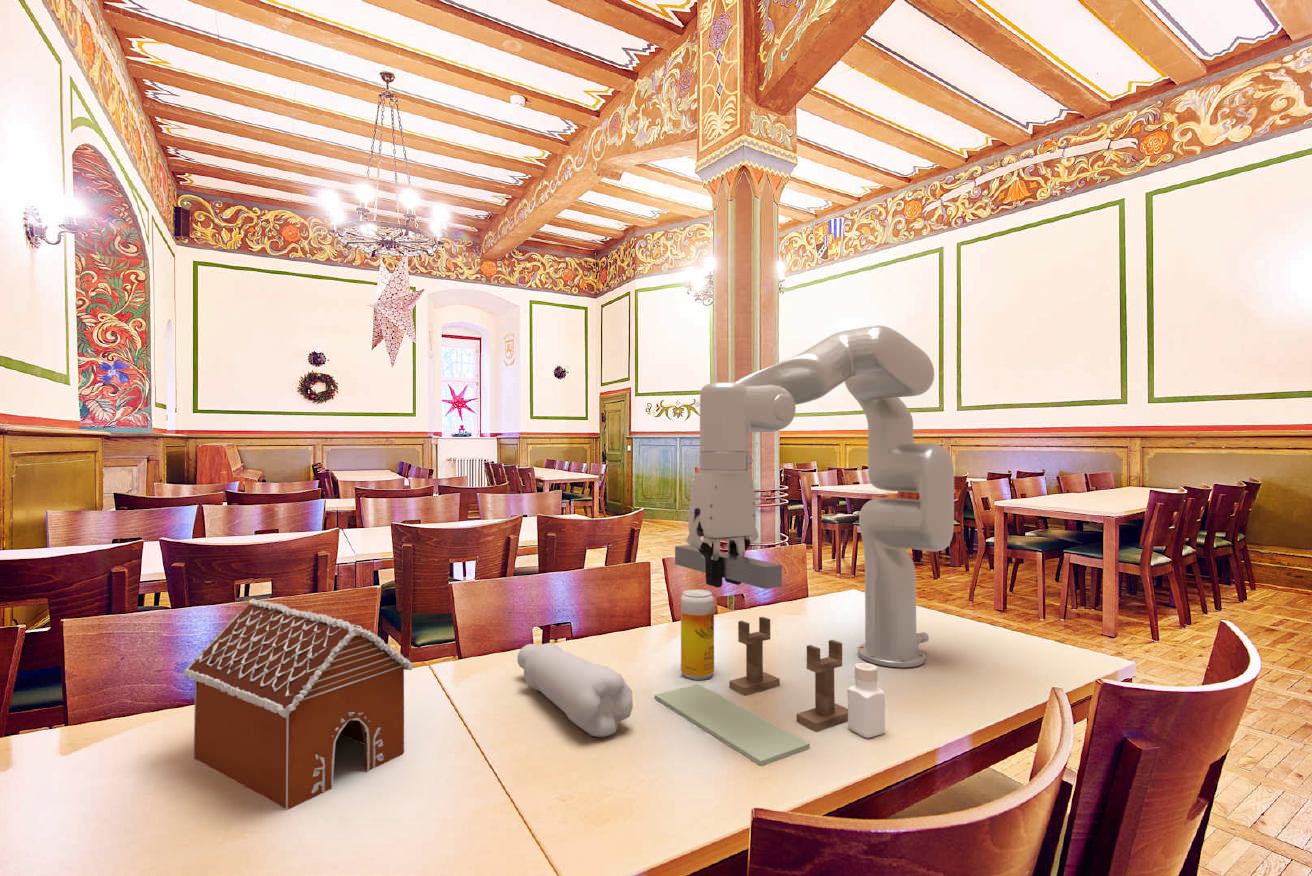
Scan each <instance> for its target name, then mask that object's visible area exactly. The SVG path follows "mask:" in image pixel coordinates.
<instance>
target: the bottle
mask: <svg viewBox="0 0 1312 876" xmlns="http://www.w3.org/2000/svg"><path fill="white" fill-rule="evenodd" d="M517 664H518V666H519V668H521V669H523V676H524V680H525V682H526V684H527V685H529V686H528V687H531V689H533V690H537V691H540V693H541V694H543V695H544V696H545V697H546V698H547V699H549V700H550V702H552V703H553V704H554V705H556V706H557V707H558V708H559V709H560V710H561V711H562V712H563V713H565V714H566V716H567V718H568V719H569V720H570V721H571V722H572V723H573V724H575V725H576V726H577V727H578V728H581V730H583V731H585V732H586V733H587V734H588V735H589V736H591V737H597V738H605V737H609V736H611V735H614V733H616V732H617V729H618V725H619V723H621V722H622V721H624V720H626V719H628V718H630V716H631V714H632V711H633V706H634V702H633V701H634V700H633V691H632V689H631V687H630V686H629V685H628V684H627V683H626V681H625V679H624V678H623V676H622V674H620V673H618V672H616V671H615V670H614V669H611V668H609V667H607V666H605V665H601V664H599V663H598V664H597V663H594V662H592V661H588V660H586V659H584V658H581V657H579V656H577V655H575V654H572V653H570V652H566V651H564V650H563V649H562V648H561V647H560V646H559V645H557V644H555V643H551V642H547V643H541V644H540V645H538V646H537V644H533V643H529V644H526V645H524V646H523V647H521V649H520V650H519V652H518V655H517Z"/></svg>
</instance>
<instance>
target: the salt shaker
mask: <svg viewBox="0 0 1312 876" xmlns="http://www.w3.org/2000/svg"><path fill="white" fill-rule="evenodd" d="M854 679H855V680H854V684H852V685H851V686H850V687H848V688H847V709H848V721H847V727H848V729H849V730H850V731H852V732H854V733H856V734H858V735H859V736H861V737H863V738H867V739H868V738H870V739H871V738H872V737H877V736H879V735H883V734H884V733H885V731H886V701H885V700H886V697H885V696H886V694H885V692H884V691H883V690H882V689H881V688H880V687H878V667H877V666H876V664H873V663H870V662H858V663H856V664H854Z"/></svg>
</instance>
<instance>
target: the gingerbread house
mask: <svg viewBox="0 0 1312 876" xmlns="http://www.w3.org/2000/svg"><path fill="white" fill-rule="evenodd" d="M248 603H249V604H248V605H247V606H245V607H244V609H243V610H242V611H239V612H237V613H236V615H235V617H233V618H231V619H230V620H229V621H228V623H227V625H226V626H225V627H222V631H221V632H218V633H216V634H215V637H214V639H213V641H211V642H210V643H208V644H207V646H206V648H204V649H202V650H201V652H200V653H199V655H198V656H197V657H195V658H194V659H193V660H192V662H191V664H190V665H188V666H186V667H185V669H184V670H183V671H182V674H183V675H184V676H186V678H187V677H188V678H189V679H192V680H194V722H193V723H194V724H193V726H194V727H193V728H194V732H193V736H194V737H193V740H194V741H193V742H194V743H193V760H196V761H199V762H200V763H202V764H204V765H205V766H208V767H209V768H211V769H213V770H215V771H217V772H218V773H220V774H222V775H224V776H225V777H227V778H229V779H231V780H233V781H235V782H237V783H238V784H241V785H242V786H244V787H245V788H247V789H249V790H251V789H252V790H251V791H253V792H255V793H257V794H259V795H260V794H261V795H260V796H262V797H264V798H266V799H267V798H268V800H269V801H271V802H273V803H275V804H277V805H279V806H280V807H282V808H284V809H285V810H286V811H288V810H291V809H293V808H295V807H297V806H298V805H299V806H300V805H301V804H303V803H305V802H307V801H310V800H312V799H313V798H315V797H317V796H319V795H322V794H324V793H326V792H328V791H330V790H333V786H334V785H333V784H334V783H333V782H334V771H335V769H334V768H335V755H336V754H335V753H336V743H337V740H338V738H339V736H342V737H345V738H348V739H350V740H352V741H355V742H358V743H360V744H363V746H364V747H363V752H364V753H363V770H366V772H370V771H371V770H374V769H376V768H377V767H380V766H381V765H384V764H386V763H387V762H390V761H393V760H394V759H396V758H398V757H400V756H402V755H404V754H405V670H408V671H412V670H413V668H414V666H415V665H414V662H413V661H412V662H411V661H410V660H409V659H408V658H407V657H406V658H405V657H404V655H403V654H402V653H399V652H398V651H397V650H396V648H394V647H393V646H391V645H390V644H389V643H385V641H384V639H383V638H381V636H380V637H379V636H378V634H375V633H374V632H371V630H370V629H369V630H367V629H366V628H363V627H362V626H361V625H358V624H354V623H350V622H349V621H348V620H347V621H345V620H343V618H340V619H339V618H337V619H336V617H334V618H333V617H332V616H330V615H329V616H328V615H327V614H323V613H316V612H313V611H306V610H304V611H303V610H298V609H296V608H295V607H294V608H291V607H288V606H287V605H283V603H278V602H276V603H274V601H272V602H270V601H263V600H257V599H256V598H251V599H249V600H248Z"/></svg>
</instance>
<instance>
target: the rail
mask: <svg viewBox="0 0 1312 876" xmlns="http://www.w3.org/2000/svg"><path fill="white" fill-rule="evenodd" d="M718 560H721V561H722V579H723V578H724V579H725V578H727V579H730V580H734V581H738V582H741V584H745V585H750V586H752V587H753V586H754V587H758V588H760V589H764V590H769V589H775V588H782V586H783V579H782V577H783V565H782V564H779V563H775V562H774V563H773V562H769V561H765V560H761V559H756V558H751V557H747V556H744V557H743V556H738V555H734V554H729V553H728V552H724V551H720V553H719V559H718ZM674 565H676V566H679V567H683V568H688V569H691V570H695V571H698V572H701V573H705V574H706V558H703V557H702V554H701V553H700V552H699V550H698V549H697V548H695V547H693V546H692V545H690V544H684V545H674Z"/></svg>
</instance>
